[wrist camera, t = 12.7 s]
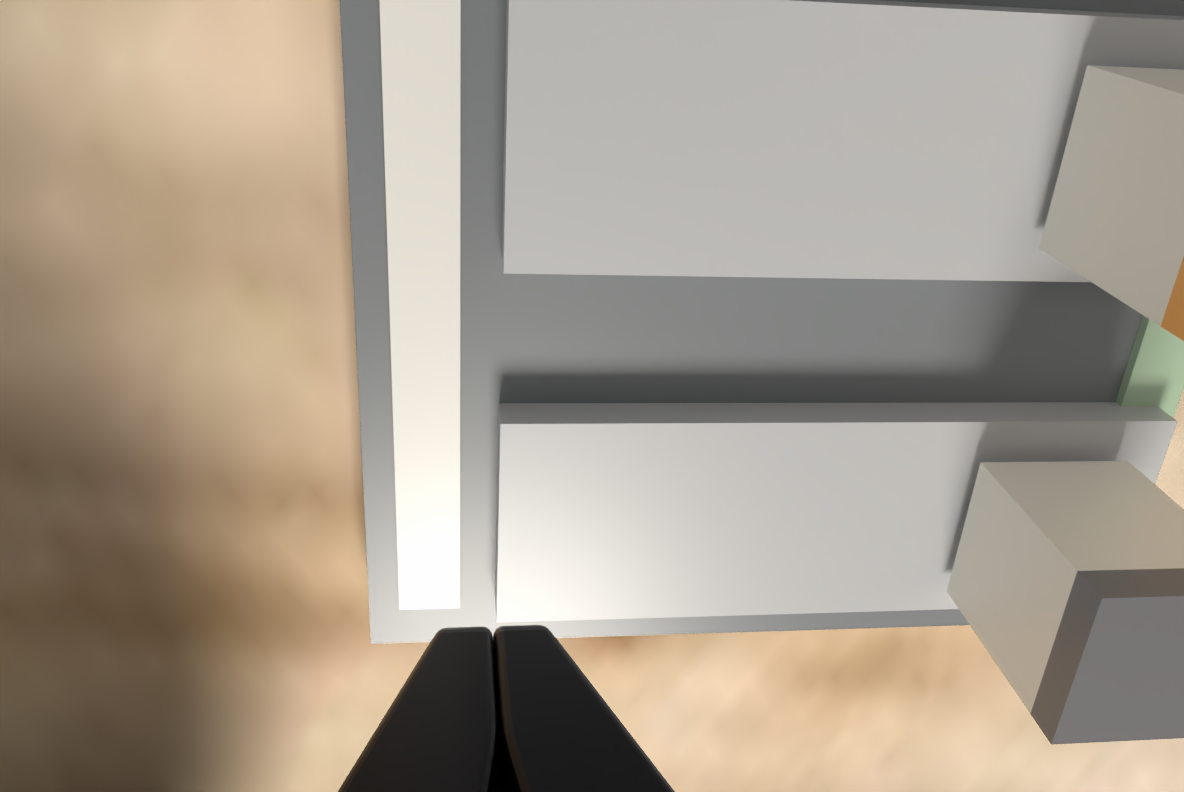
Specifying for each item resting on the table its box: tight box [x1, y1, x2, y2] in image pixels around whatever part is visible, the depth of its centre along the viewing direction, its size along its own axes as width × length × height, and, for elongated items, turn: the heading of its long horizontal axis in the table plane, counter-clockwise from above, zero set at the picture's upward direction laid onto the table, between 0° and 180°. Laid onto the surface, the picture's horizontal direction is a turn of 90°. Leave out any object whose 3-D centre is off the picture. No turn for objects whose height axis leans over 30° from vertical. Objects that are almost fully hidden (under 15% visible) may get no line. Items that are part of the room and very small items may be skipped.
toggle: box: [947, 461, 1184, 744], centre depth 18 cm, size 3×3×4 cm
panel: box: [340, 0, 1184, 644], centre depth 18 cm, size 21×16×2 cm
